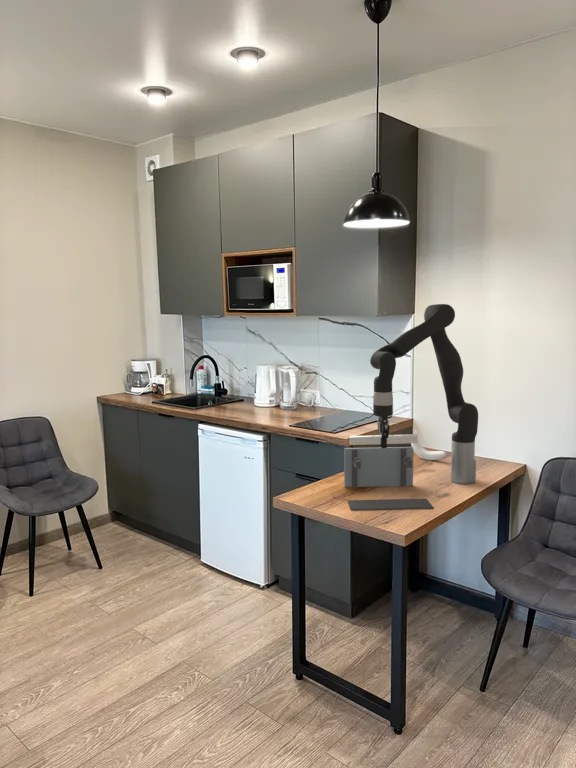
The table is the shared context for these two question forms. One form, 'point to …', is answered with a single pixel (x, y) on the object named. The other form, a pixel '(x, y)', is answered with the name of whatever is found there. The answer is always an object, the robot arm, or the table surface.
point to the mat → (389, 504)
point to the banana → (426, 451)
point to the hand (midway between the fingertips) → (383, 446)
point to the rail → (377, 439)
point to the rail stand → (378, 467)
